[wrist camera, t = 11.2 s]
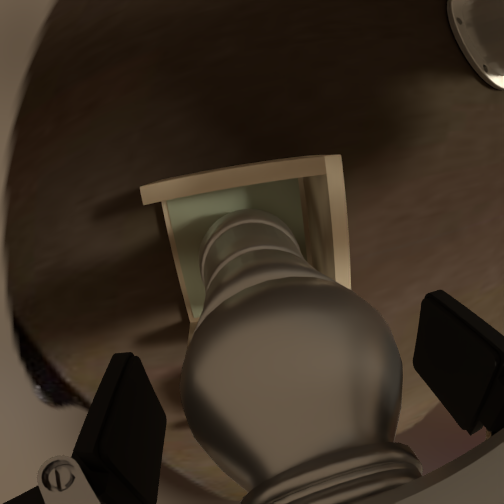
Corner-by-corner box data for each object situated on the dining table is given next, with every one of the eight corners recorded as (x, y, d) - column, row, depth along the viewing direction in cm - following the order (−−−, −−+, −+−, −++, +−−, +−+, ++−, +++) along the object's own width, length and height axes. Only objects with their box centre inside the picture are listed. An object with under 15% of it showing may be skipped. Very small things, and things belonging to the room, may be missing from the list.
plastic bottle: (214, 302, 23) (232, 598, 4) (189, 215, 21) (69, 537, 2) (297, 280, 23) (453, 530, 4) (279, 192, 21) (569, 373, 2)
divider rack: (159, 180, 21) (139, 187, 15) (310, 155, 21) (340, 154, 16) (221, 416, 28) (224, 459, 22) (327, 394, 28) (345, 434, 23)
